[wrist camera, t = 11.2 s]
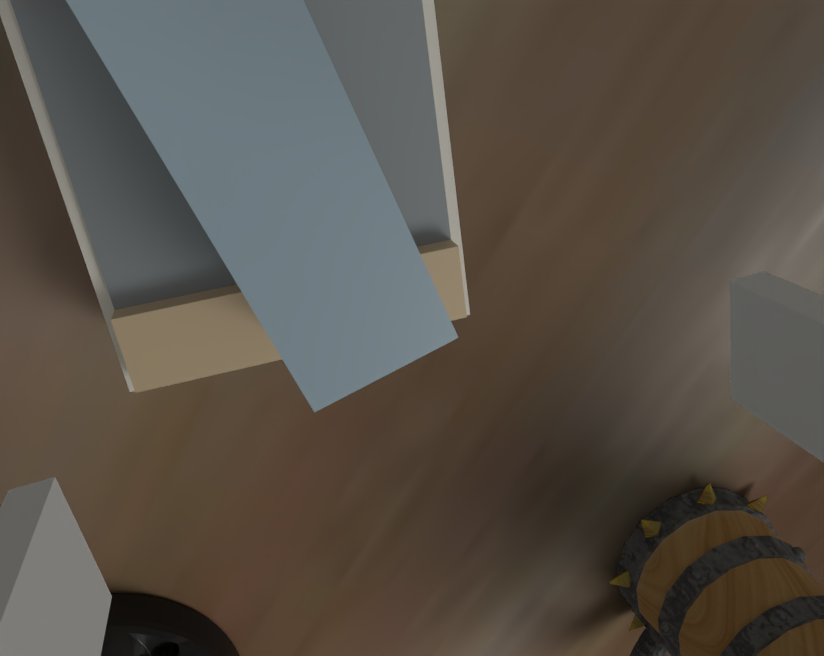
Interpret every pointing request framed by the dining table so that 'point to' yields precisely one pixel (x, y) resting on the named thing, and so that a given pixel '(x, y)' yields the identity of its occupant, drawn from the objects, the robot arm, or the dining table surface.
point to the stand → (172, 215)
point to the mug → (718, 582)
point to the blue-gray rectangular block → (277, 180)
